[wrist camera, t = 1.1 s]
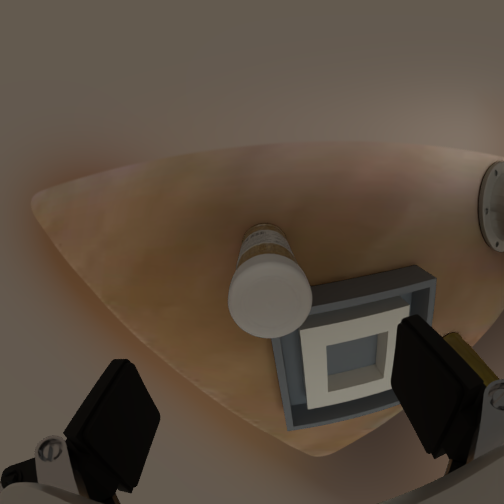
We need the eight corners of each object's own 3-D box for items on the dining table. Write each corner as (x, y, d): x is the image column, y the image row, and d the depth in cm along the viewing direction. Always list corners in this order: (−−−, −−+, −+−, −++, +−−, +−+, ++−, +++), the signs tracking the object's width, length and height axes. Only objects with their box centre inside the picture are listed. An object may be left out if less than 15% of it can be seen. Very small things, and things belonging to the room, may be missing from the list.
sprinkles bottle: (249, 272, 28) (242, 349, 15) (235, 229, 27) (214, 277, 14) (293, 259, 27) (321, 328, 14) (281, 216, 26) (302, 252, 13)
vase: (445, 368, 31) (489, 426, 17) (422, 363, 31) (469, 429, 17) (466, 336, 30) (519, 388, 16) (445, 328, 29) (503, 387, 16)
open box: (415, 264, 27) (436, 278, 23) (403, 378, 31) (416, 398, 27) (265, 294, 28) (266, 314, 24) (285, 407, 33) (287, 431, 28)
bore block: (397, 294, 27) (409, 305, 24) (390, 372, 30) (398, 386, 27) (296, 315, 28) (299, 330, 25) (304, 393, 31) (307, 409, 28)
